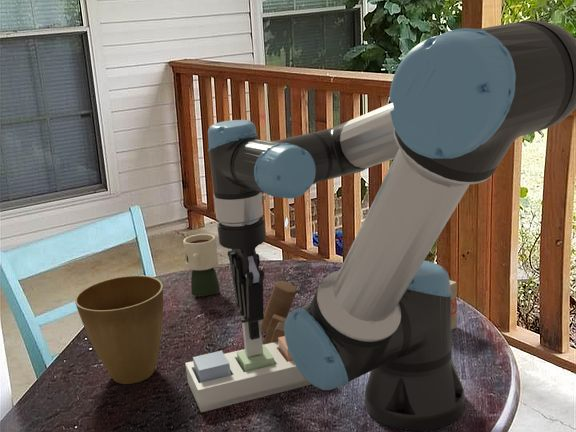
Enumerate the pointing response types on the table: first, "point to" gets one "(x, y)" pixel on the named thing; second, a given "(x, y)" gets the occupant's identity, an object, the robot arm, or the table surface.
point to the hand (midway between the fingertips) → (254, 353)
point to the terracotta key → (284, 349)
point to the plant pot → (124, 324)
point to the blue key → (211, 366)
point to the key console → (245, 381)
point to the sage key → (255, 360)
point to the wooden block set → (277, 311)
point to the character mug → (202, 263)
